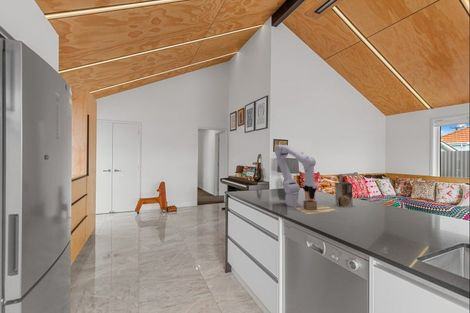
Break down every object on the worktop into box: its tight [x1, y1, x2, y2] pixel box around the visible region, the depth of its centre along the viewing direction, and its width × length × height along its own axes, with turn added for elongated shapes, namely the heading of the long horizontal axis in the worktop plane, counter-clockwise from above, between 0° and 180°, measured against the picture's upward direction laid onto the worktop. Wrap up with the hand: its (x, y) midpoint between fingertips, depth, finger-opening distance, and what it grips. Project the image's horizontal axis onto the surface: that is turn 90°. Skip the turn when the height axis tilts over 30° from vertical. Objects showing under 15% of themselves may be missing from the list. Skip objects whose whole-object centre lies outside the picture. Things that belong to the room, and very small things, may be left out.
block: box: [304, 191, 316, 201], centre depth 156 cm, size 4×4×5 cm
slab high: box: [303, 199, 318, 206], centre depth 156 cm, size 6×6×2 cm
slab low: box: [303, 204, 318, 210], centre depth 156 cm, size 6×6×2 cm
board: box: [293, 205, 340, 215], centre depth 155 cm, size 18×22×1 cm
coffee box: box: [334, 182, 353, 208], centre depth 162 cm, size 9×6×16 cm
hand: (309, 198), depth 156 cm, fingers closed on block, 4 cm apart
